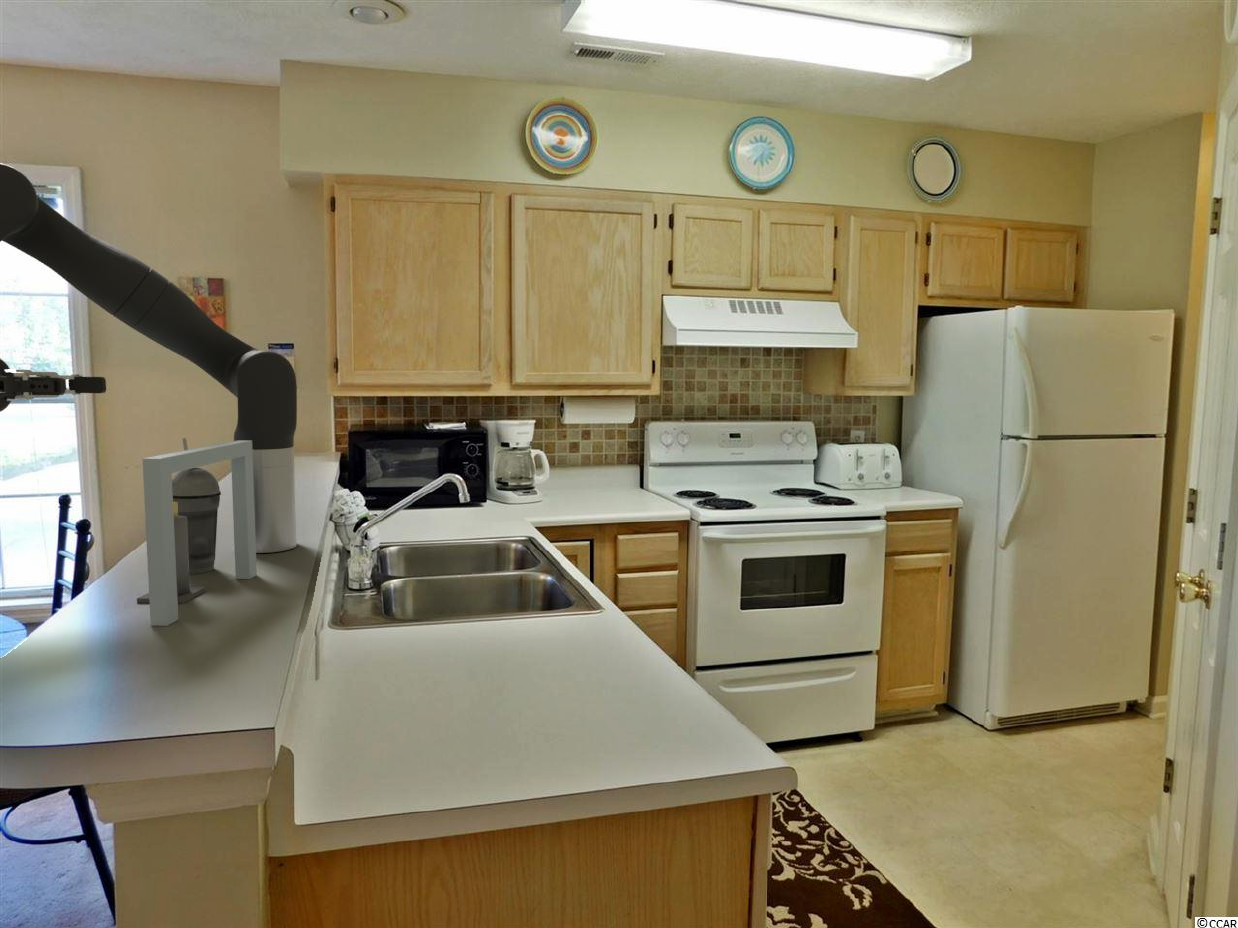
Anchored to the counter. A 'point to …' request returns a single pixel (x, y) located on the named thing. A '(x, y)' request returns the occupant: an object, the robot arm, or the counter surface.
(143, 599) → the mat
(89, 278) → the robot arm
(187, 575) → the bottle
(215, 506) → the beverage cup
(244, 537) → the rectangular arch frame
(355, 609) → the counter surface
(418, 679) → the counter surface
